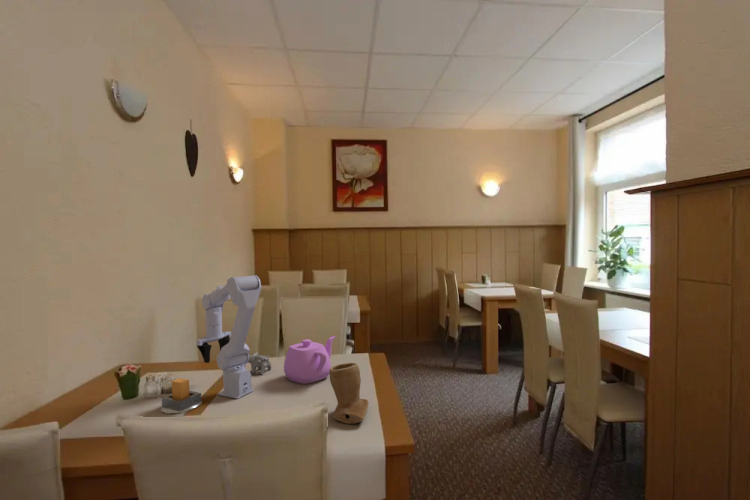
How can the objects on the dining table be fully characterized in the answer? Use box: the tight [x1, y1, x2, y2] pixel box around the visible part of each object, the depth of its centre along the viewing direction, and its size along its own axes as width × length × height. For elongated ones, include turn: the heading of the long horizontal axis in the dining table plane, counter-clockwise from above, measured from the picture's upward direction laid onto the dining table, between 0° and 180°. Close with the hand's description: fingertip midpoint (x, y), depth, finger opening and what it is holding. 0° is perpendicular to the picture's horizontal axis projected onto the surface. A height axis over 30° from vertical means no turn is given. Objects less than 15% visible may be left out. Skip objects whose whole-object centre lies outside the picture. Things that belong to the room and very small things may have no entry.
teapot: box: [283, 335, 336, 385], centre depth 147 cm, size 23×21×15 cm
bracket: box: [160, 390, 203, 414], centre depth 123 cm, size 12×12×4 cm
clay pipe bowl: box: [328, 362, 369, 425], centre depth 113 cm, size 15×12×15 cm
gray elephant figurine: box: [247, 351, 272, 376], centre depth 155 cm, size 9×12×8 cm
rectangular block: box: [171, 378, 190, 400], centre depth 123 cm, size 3×4×8 cm, turn 64°
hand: (215, 359), depth 143 cm, fingers open, 7 cm apart
